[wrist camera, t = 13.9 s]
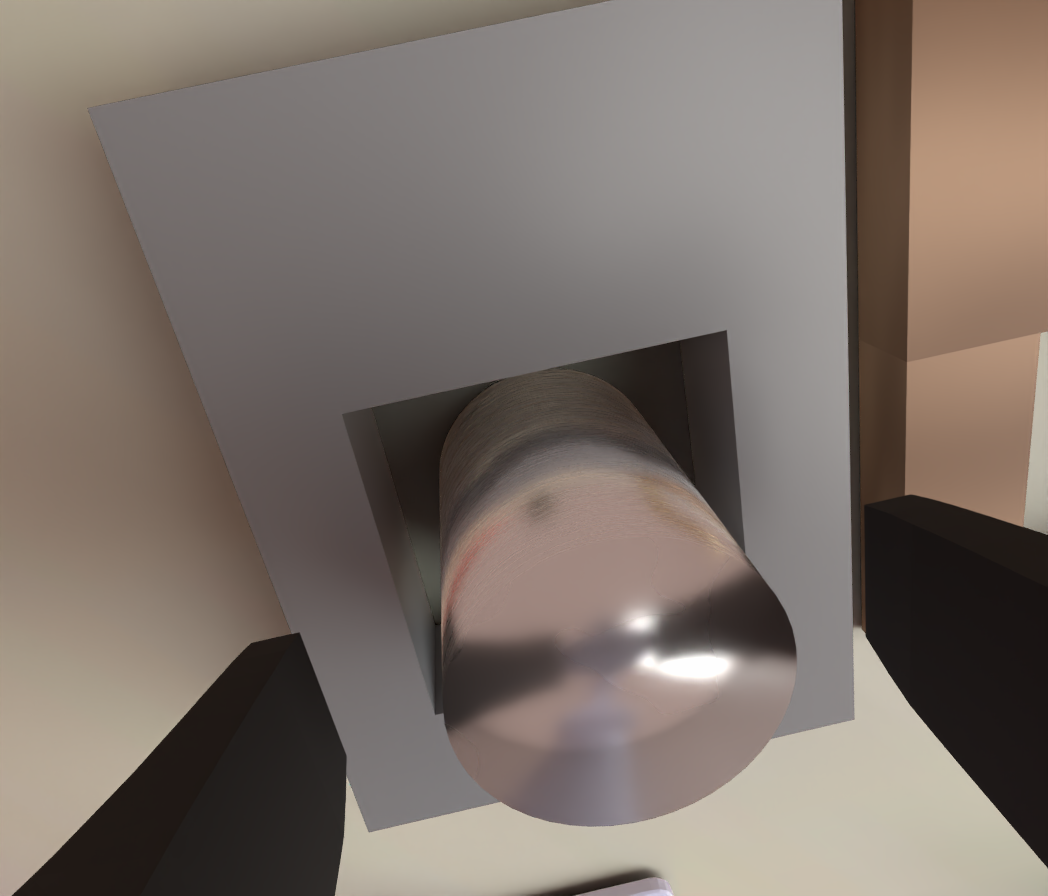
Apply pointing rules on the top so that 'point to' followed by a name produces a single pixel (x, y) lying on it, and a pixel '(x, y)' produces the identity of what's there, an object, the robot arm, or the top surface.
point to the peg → (596, 612)
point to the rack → (509, 306)
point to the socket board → (950, 248)
